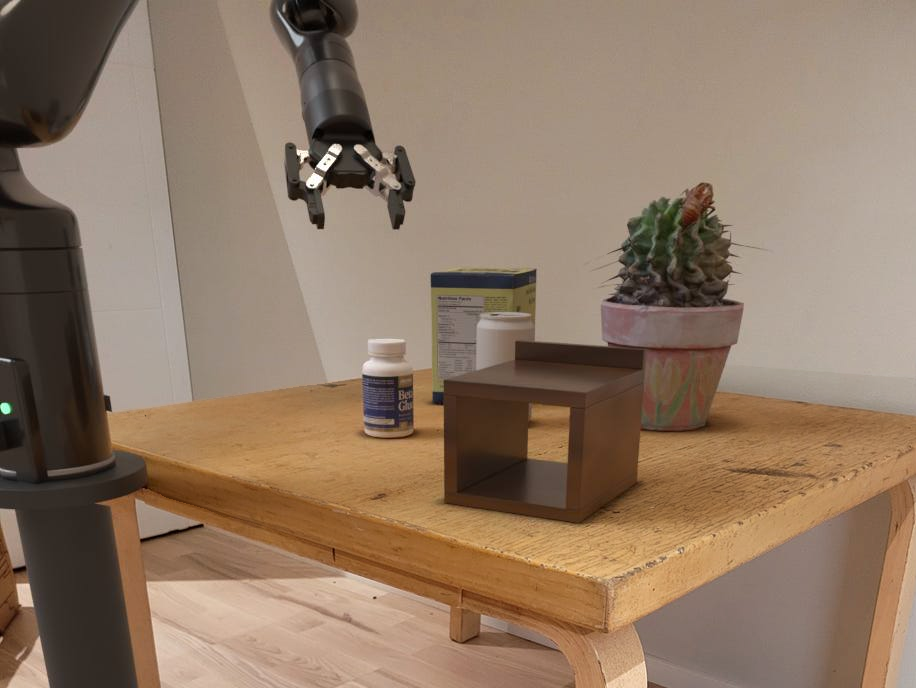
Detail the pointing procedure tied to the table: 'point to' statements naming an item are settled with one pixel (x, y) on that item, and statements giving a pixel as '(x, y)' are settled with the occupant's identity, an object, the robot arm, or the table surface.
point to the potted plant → (675, 307)
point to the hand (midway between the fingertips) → (360, 224)
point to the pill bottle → (387, 390)
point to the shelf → (506, 430)
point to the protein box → (471, 313)
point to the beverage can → (501, 338)
